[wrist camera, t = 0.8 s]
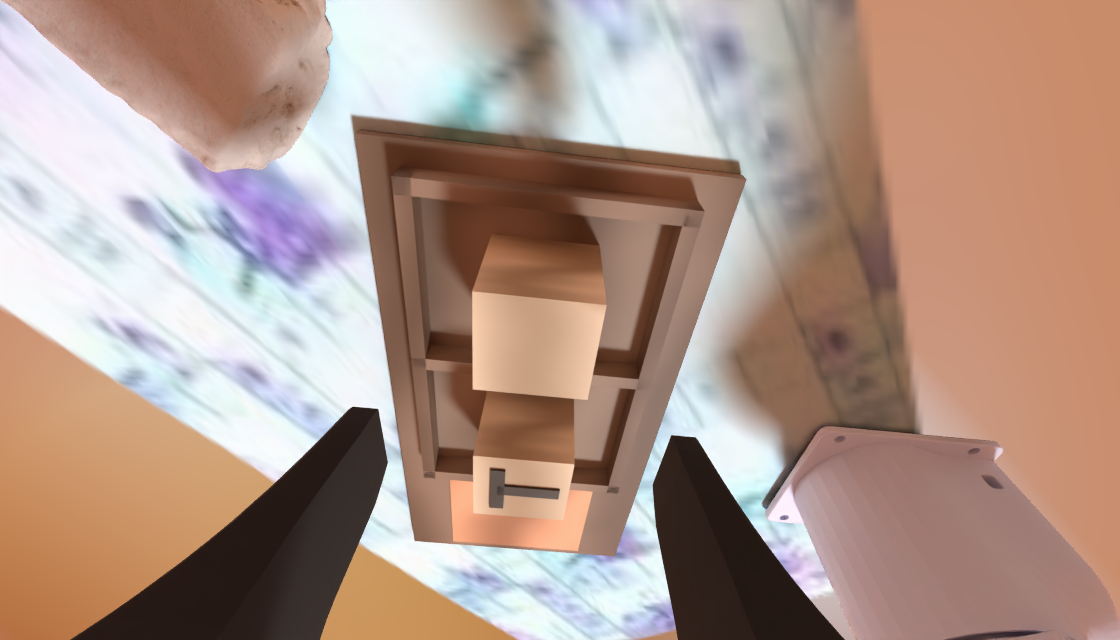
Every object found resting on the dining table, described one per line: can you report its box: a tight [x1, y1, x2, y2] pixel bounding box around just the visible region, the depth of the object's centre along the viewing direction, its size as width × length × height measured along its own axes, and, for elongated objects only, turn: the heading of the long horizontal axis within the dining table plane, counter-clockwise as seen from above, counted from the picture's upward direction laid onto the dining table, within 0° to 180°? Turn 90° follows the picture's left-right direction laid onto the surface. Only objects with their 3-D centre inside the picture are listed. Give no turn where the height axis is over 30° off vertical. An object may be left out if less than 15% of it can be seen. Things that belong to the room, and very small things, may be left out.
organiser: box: [354, 130, 746, 556], centre depth 22 cm, size 13×25×2 cm, turn 174°
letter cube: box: [473, 391, 575, 520], centre depth 20 cm, size 4×4×4 cm
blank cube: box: [472, 234, 607, 400], centre depth 16 cm, size 4×4×4 cm
